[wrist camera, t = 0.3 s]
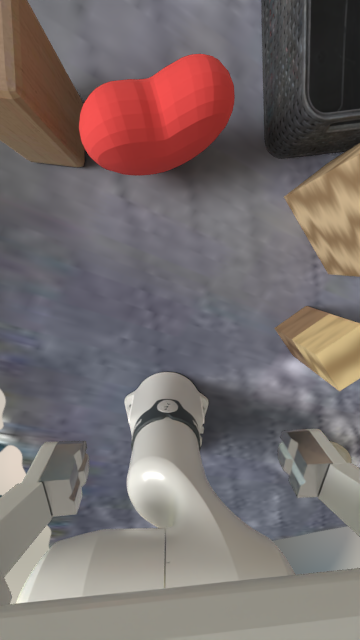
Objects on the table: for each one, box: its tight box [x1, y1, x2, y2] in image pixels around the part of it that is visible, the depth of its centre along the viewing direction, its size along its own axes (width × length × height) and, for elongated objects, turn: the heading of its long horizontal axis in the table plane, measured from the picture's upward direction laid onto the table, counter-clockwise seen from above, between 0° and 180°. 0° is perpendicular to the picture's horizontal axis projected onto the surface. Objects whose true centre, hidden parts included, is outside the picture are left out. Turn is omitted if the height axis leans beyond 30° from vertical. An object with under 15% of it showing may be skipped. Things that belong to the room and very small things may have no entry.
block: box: [0, 0, 85, 167], centre depth 32 cm, size 10×10×20 cm
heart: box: [79, 54, 234, 175], centre depth 34 cm, size 20×9×19 cm, turn 107°
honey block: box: [292, 314, 360, 391], centre depth 41 cm, size 8×8×8 cm
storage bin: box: [261, 0, 360, 159], centre depth 34 cm, size 29×19×13 cm
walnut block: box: [275, 306, 329, 370], centre depth 48 cm, size 8×8×8 cm
